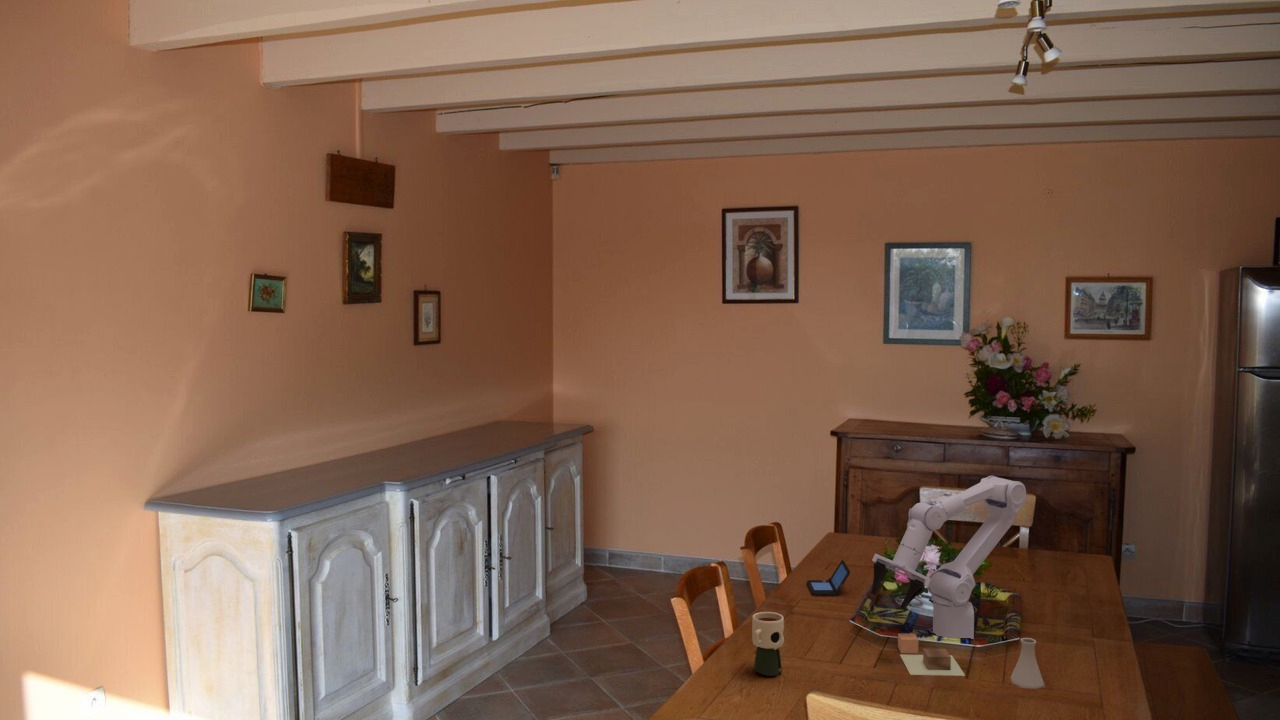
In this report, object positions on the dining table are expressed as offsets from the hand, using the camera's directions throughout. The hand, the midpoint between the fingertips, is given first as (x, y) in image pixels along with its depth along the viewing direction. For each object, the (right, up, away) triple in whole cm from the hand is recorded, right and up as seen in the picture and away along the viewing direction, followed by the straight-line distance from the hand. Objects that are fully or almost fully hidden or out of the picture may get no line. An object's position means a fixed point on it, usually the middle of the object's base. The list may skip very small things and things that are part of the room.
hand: (887, 601), depth 235 cm
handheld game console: (-5, -9, +47) cm, 48 cm away
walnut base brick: (+8, -12, -11) cm, 18 cm away
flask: (+25, -13, -21) cm, 35 cm away
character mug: (-30, -13, -13) cm, 35 cm away
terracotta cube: (+5, -12, -1) cm, 13 cm away
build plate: (+7, -12, -11) cm, 18 cm away
